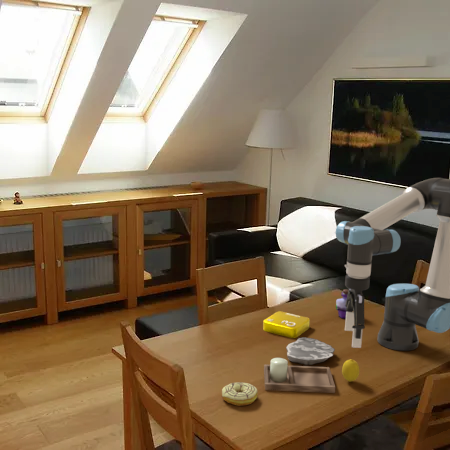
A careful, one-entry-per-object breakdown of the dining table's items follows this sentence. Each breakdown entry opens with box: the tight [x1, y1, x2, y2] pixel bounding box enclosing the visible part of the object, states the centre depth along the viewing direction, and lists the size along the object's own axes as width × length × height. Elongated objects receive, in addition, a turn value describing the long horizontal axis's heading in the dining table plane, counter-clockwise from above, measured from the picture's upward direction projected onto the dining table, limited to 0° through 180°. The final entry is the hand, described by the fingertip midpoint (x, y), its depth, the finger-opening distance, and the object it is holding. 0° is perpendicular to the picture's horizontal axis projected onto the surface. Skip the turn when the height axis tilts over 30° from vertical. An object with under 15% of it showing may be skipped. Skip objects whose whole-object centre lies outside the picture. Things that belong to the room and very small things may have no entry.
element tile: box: [262, 310, 310, 339], centre depth 234 cm, size 15×15×5 cm
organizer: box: [263, 364, 336, 394], centre depth 190 cm, size 22×14×2 cm, turn 88°
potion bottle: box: [335, 288, 349, 320], centre depth 247 cm, size 9×9×12 cm
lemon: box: [341, 358, 360, 383], centre depth 189 cm, size 6×6×8 cm
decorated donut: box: [221, 381, 258, 407], centre depth 178 cm, size 10×11×4 cm
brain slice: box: [285, 337, 336, 366], centre depth 209 cm, size 20×17×3 cm
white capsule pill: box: [269, 357, 289, 383], centre depth 189 cm, size 6×6×6 cm
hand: (352, 338), depth 187 cm, fingers open, 13 cm apart
